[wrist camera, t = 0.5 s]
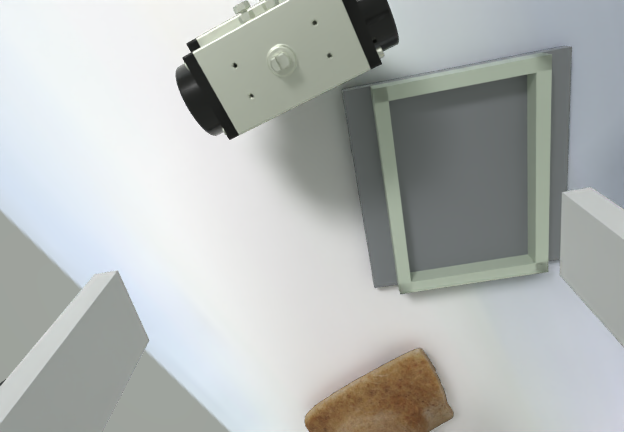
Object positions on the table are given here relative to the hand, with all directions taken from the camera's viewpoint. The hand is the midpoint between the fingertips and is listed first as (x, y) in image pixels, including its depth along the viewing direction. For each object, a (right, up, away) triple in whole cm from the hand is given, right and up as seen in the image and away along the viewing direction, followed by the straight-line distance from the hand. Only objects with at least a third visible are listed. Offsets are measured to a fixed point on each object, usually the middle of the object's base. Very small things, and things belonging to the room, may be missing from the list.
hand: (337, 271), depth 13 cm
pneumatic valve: (-2, +14, +19) cm, 24 cm away
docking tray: (+11, +5, +23) cm, 26 cm away
